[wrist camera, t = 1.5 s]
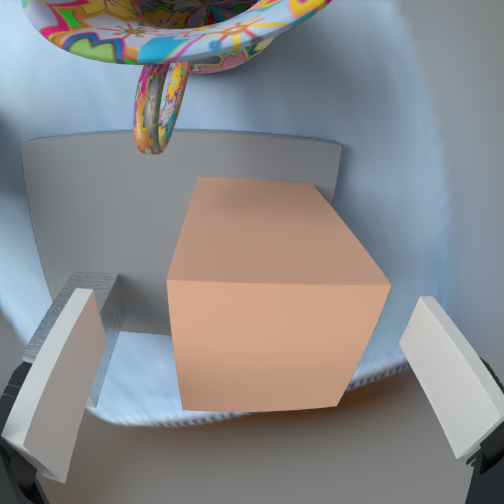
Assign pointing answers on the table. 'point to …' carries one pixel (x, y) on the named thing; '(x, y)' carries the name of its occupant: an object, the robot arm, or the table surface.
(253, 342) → the peach tan brick
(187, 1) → the mug
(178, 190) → the board
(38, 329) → the post
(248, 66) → the table surface
